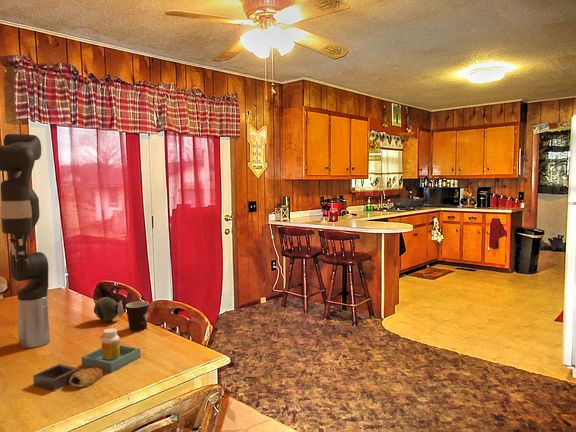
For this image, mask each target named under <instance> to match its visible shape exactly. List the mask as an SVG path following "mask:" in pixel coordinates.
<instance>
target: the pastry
mask: <svg viewBox="0 0 576 432" xmlns="http://www.w3.org/2000/svg"><path fill="white" fill-rule="evenodd" d="M103 375H104V371H102V369H99V368H97V367H94V368H88V367H86V368H83V369H79V371H78V372H75V373H74V374H73V375H71V377H70V380H69V384H68V385H70V386H72V387H78V388H86V387H88V386H90V385H91V384H95V383H96V382H97V381H99V380H100V379H101V378H102V377H103Z"/></svg>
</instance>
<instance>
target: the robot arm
mask: <svg viewBox="0 0 576 432" xmlns="http://www.w3.org/2000/svg"><path fill="white" fill-rule="evenodd" d="M41 143H42V142H41V140H40V138H39V137H38V136H37V135H34V134H24V133H23V134H22V133H21V134H20V133H6V134H5V135H4V138H3V145H0V172H6V176H7V179H5V180H3V181H2V182H1V183H0V201H1V202H0V216H1V218H0V219H1V220H0V221H1V232H2V234H6V235H7V234H8V235H9V237H10V238H9V245H10V247H9V248H10V249H9V269H10V270H9V271H10V273H11V277H12V278H13V279H14V280H15V281H17V282H23V281H28V280H29V283H28V284H27V285H26V286H24V287H22V288H20V289H19V290H18V291H17V306H18V318H17V330H18V331H17V332H18V344H19V345H20V347H21V348H23V349H24V348H25V349H29V348H30V349H33V348H38V347H43V346H45V345H46V344H48V343H50V340H51V339H50V337H51V335H50V318H49V301H48V300H49V299H48V290H49V261H48V258H47V256H46V255H45V253H43V252H41V251H37V252H29V253H28V248H27V244H28V240H29V238H30V236H31V234H32V232H33V231H34V229H35V227H36V225H37V223H38V222H39V218H40V213H41V212H40V200H39V197H38V195H37V194H36V192H35V190H34V189H33V188H32V186H31V185H30V184H31V183H30V182H31V176H32V174H33V169H34V166H35V162H36V161H37V160H38V161H39V160H40V159H41V156H42V144H41Z"/></svg>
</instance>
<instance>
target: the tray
mask: <svg viewBox="0 0 576 432" xmlns="http://www.w3.org/2000/svg"><path fill="white" fill-rule="evenodd" d="M141 357H142V356H141V348H139V347H133V346H129V345H124V344H123V345H122V344H120V358H118V359H116V360H114V361H112V362H109V361H104V360H102V347H101V348H98V349H96V350H93V351H91V352H89V353H86V354H85V355H83V356H81V357H80V358H81V366H82V367H84V368H94V367H97V368H99V369H102V371H103V372H106V373H111V374H112V373H115V372H116V371H118V370H119V369H122V368H123V367H125V366H127V365H129V364H130V363H133V362H135V361H137V360H138V359H140V358H141Z"/></svg>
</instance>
